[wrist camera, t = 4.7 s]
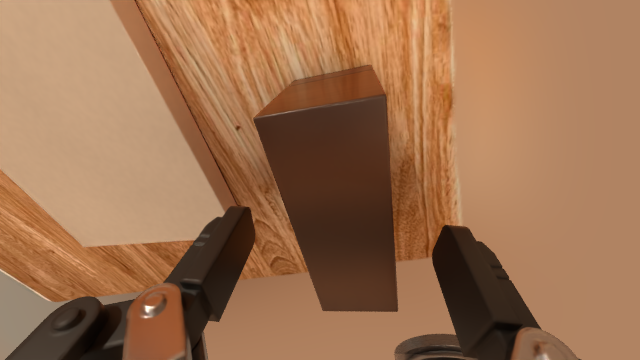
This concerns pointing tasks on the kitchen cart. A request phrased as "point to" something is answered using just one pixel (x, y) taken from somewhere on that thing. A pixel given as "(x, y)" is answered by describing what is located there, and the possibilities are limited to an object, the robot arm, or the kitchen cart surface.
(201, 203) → the tile
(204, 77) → the kitchen cart surface
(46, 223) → the kitchen cart surface
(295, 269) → the kitchen cart surface
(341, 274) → the dark brown block
